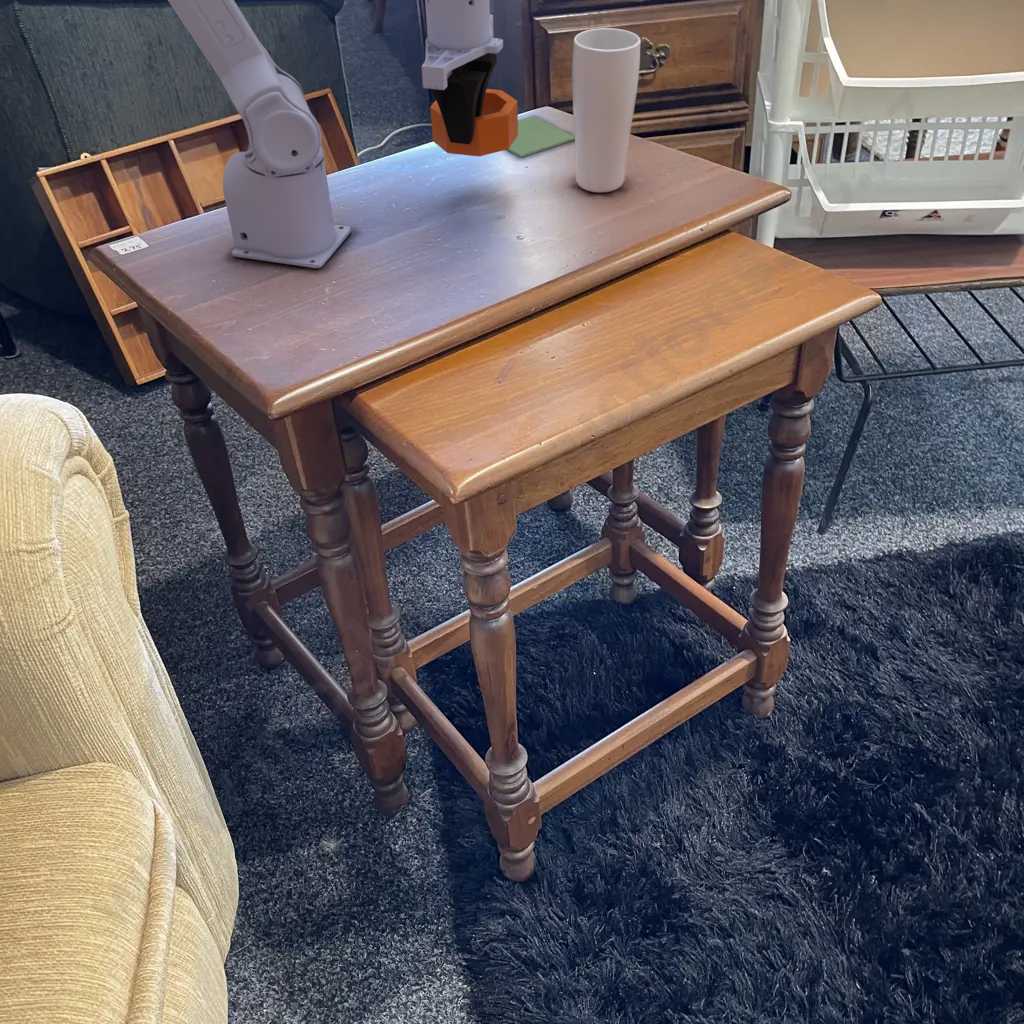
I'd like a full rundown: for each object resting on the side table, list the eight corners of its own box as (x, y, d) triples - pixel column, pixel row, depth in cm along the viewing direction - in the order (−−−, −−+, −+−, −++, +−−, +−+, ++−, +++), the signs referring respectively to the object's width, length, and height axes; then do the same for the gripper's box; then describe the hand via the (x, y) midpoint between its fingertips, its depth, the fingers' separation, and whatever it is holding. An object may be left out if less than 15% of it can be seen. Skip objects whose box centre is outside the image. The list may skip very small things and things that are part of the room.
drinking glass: (633, 197, 105) (644, 50, 95) (569, 198, 105) (574, 51, 95) (628, 169, 110) (638, 26, 100) (567, 170, 110) (571, 27, 100)
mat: (521, 157, 113) (521, 155, 112) (480, 135, 117) (480, 132, 117) (575, 139, 116) (575, 137, 116) (533, 118, 121) (533, 116, 120)
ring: (424, 151, 98) (422, 115, 95) (450, 119, 103) (448, 85, 101) (502, 159, 96) (501, 123, 93) (524, 126, 101) (524, 91, 99)
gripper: (474, 15, 81) (479, 174, 90) (523, -34, 91) (523, 113, 100) (394, 8, 82) (407, 165, 92) (450, -39, 92) (458, 106, 102)
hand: (463, 138), depth 96 cm, fingers closed on ring
